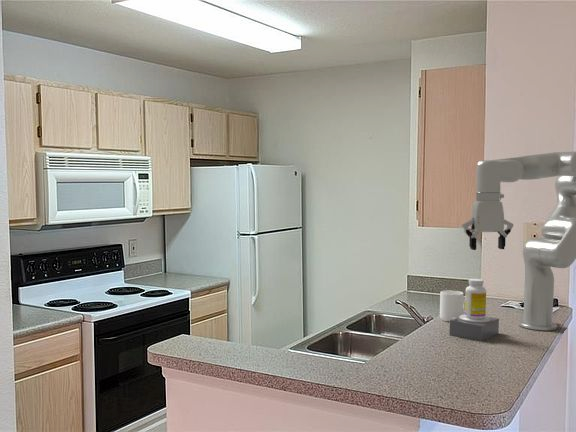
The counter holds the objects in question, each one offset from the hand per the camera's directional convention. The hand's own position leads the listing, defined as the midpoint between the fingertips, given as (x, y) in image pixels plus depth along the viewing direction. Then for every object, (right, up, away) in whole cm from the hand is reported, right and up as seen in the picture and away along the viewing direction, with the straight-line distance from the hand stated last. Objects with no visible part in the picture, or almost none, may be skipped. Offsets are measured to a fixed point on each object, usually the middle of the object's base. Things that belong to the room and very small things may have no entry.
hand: (487, 249), depth 194 cm
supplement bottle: (-3, -23, +2) cm, 24 cm away
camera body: (-4, -29, +2) cm, 29 cm away
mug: (-4, -28, +23) cm, 37 cm away
